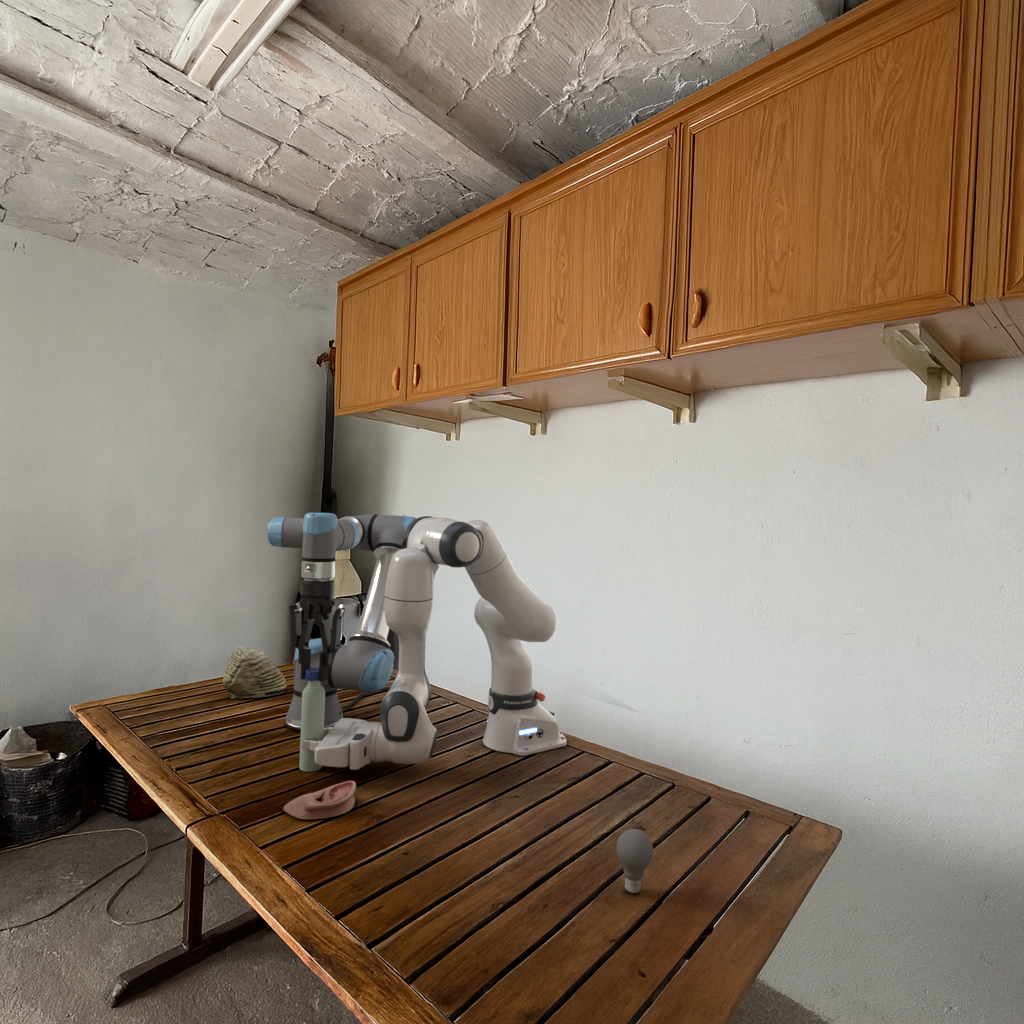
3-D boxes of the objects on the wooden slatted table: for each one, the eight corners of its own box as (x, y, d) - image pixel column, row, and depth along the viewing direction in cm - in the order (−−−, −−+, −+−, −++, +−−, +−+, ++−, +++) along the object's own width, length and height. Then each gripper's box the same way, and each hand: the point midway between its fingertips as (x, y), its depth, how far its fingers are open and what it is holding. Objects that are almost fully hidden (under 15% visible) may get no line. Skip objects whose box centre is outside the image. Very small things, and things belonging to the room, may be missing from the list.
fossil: (218, 695, 195) (220, 647, 195) (278, 685, 208) (279, 640, 207) (228, 703, 189) (230, 653, 188) (289, 692, 201) (290, 645, 201)
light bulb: (610, 879, 108) (613, 822, 108) (644, 879, 109) (647, 822, 109) (619, 902, 102) (622, 840, 102) (655, 901, 103) (658, 840, 103)
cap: (308, 675, 150) (309, 666, 150) (326, 676, 150) (326, 667, 150) (302, 680, 146) (302, 671, 146) (320, 681, 146) (320, 672, 145)
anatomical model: (275, 795, 125) (305, 771, 136) (274, 815, 125) (304, 789, 136) (337, 804, 122) (363, 779, 133) (336, 825, 122) (362, 798, 133)
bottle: (320, 761, 151) (323, 669, 151) (324, 769, 147) (327, 674, 146) (297, 764, 149) (301, 671, 149) (301, 773, 145) (304, 676, 144)
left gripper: (276, 578, 146) (272, 679, 146) (343, 583, 142) (339, 687, 142) (294, 574, 153) (291, 671, 153) (359, 579, 149) (355, 678, 149)
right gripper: (378, 713, 158) (323, 710, 158) (355, 744, 137) (292, 741, 138) (377, 738, 158) (322, 735, 158) (354, 773, 138) (291, 770, 138)
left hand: (314, 678), depth 148 cm, fingers closed on cap, 4 cm apart
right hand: (308, 738), depth 148 cm, fingers closed on bottle, 5 cm apart
